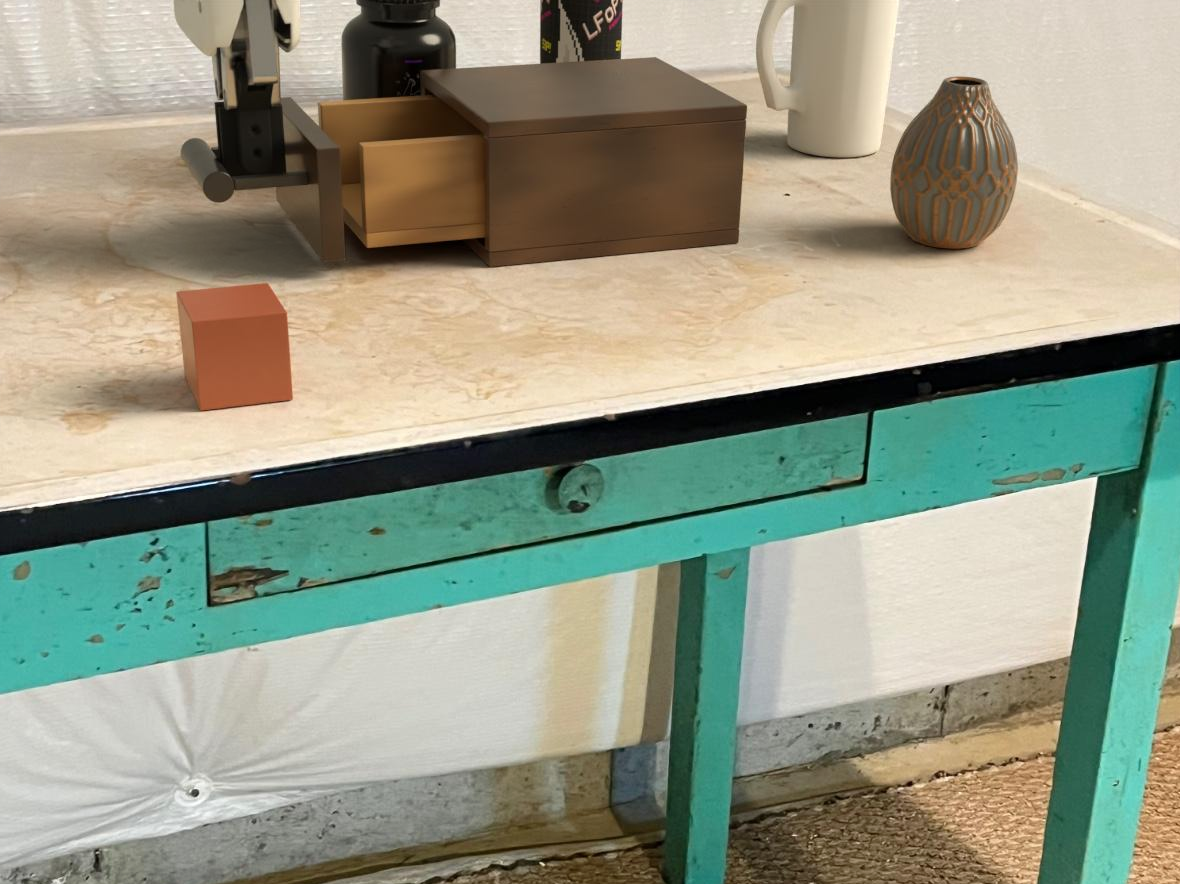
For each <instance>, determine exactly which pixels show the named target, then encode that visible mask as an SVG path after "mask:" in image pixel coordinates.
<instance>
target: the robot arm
mask: <svg viewBox="0 0 1180 884" xmlns="http://www.w3.org/2000/svg"><path fill="white" fill-rule="evenodd" d="M301 11H302V10H301V0H173V13H174V18H175V21H176V22H175V23H176V24H177V26H178V27H179V29H180V30H181V31H182V32H183V33H184V35H185V36H186V37H187V38H188V40H189V41H190V42H191V44H193V45H194V47H196V48H197V49H198V51H200V52H201V53H203V54H204V55H206V56H207V57H211V62H212V63H211V64H212V72H213V82H214V90H215V96H216V99H217V101H214V102H213V103H214V115H215V127H216V128H215V129H216V138H217V147H218V152H219V161H220V162H221V163H222V165H223V166H224V168H225V169H226V170H227V172H228V173H229V175H230V176H231V177H233V176H245V175H259V174H272V173H285V172H286V157H285V141H284V125H283V110H282V105H281V98H282V94H281V92H282V91H281V67H280V65H281V64H280V49H281V50H282V51H283V52H284V53H286V54H287V53H291V52H292V51H294V49H296V47H297V46H298V45H299V43H300V42H301V35H302V34H301V32H302V29H301V28H302V26H301V25H302V13H301Z"/></svg>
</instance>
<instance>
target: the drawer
mask: <svg viewBox="0 0 1180 884" xmlns="http://www.w3.org/2000/svg"><path fill="white" fill-rule="evenodd" d="M281 105H282V110H283V125H284V141H285V157H286V172H285V173H272V174H259V175H245V176H233V177H231V176H230V175H229V173H228V172H227V170H226V169H225V168H224V166H223V165H222V163H221V162H220V161H219V152H218V146H212V147H211V146H210V145H209V144H208V142H206V141H205V140H203V139H202V138H198V137H191V138H189V139H187V140H185V142H183V144H182V146H181V148H180V157H181V160H182V162H183V163H184V165H185V166H186V168H187V170H188V171H189V173H190V174H191V175H192V177H193V179H194V181H195V182H196V184H197V185H198V187H199V188H200V189H201V191H202V193H203V194H204V196H205V197H206V198H207V199H208V200H209V201H210V202H213V203H219V204H220V203H225V202H227V201H228V200H229V199H231V198H232V196H233V195H234V193H235V191H249V190H260V189H261V190H262V189H273V188H275V192H276V193H275V194H276V195H275V196H276V202H277V203H278V205H279V206H280V207H281V208H282V210H283V211H284V213H285V214H286V216H287V217H288V218H289V219H290V221H291V222H292V223H293V224H294V226H295V227H296V228H297V229H298V231H299V232H300V234H301V235H302V236H303V237H304V239H305V240H306V241H307V243H308V244H309V245H310V246H311V248H312V249H313V250H314V252H315V253H316V254H317V256H318V257H319V258H320V260H321V261H322V262H323V263H326V262H327V263H328V262H338V261H339V262H340V261H345V260H346V241H345V239H346V238H345V224H346V226H348V227H349V228H350V230H351V231H352V232H353V233H354V235H355V236H356V237H357V238H358V239H359V241H360V242H361V243H362V244H363V245H364V246H365V248H367V249H371V248H373V249H374V248H383V247H384V248H385V247H393V246H394V247H395V246H403V245H404V246H405V245H416V244H427V243H437V242H438V243H439V242H447V241H450V242H451V241H460V240H461V241H462V239H472V238H483V237H485V175H484V135H485V134H484V133H482V132H481V131H480V130H479V129H477V128H476V127H475V126H473V125H472V124H471V123H470V122H468V121H467V120H466V119H465V118H463V117H462V116H461V115H459V114H458V113H457V112H456V111H454V110H453V109H452V108H450V107H449V106H448V105H447V104H445V103H444V102H443V101H442V100H440V99H439V98H438V97H436V96H435V95H423V96H407V97H390V98H374V99H358V100H343V99H342V100H328V101H325V100H324V101H318V102H317V115H318V116H317V117H318V124H317V123H316V121H315V120H313V118H312V117H311V116H310V115H309V114H308V113H307V112H306V111H305V110H304V109H303V108H302V107H301V106H300V105H299V104H298V103H297V102H296V101H295V100H294V99H293V98H292V96H284V97H283V96H281Z"/></svg>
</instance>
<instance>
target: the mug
mask: <svg viewBox="0 0 1180 884" xmlns="http://www.w3.org/2000/svg"><path fill="white" fill-rule="evenodd" d="M899 5H900V0H767V1H766V5H765V7H764V9H763V12H762V14H761V18H760V21H759V24H758V29H757V33H756V41H755V59H756V67H757V72H758V77H759V81H760V85H761V88H762V93H763V98H764V101H765V105H766V107H767V108H769V109H772V110H774V111H776V112H779V111H785V110H787V135H786V141H787V145H788V146H789V147H790V148H791V149H793V150H795V151H797V152H800V153H803V154H807V155H811V156H818V157H825V158H857V157H858V158H859V157H866V156H869V155H872V154H875V153H876V152H878V151H879V150H880V149H881V145H882V144H881V143H882V137H883V132H884V131H883V130H884V123H885V116H886V109H887V101H888V100H887V99H888V93H889V84H890V77H891V71H892V70H891V68H892V61H893V53H894V46H895V39H896V38H895V37H896V29H897V24H898V23H897V22H898V21H897V20H898V14H899ZM791 7H793V21H792V40H791V57H790V77H789V85H785V86H784V84H782V82H781V81H780V79H779V77H778V75H777V71H776V67H775V62H774V53H773V47H774V46H773V44H774V36H775V33H776V29H777V26H778V23H779V22H780V20H781V18H782V16H783V15H784V14H785V12H786V11H788V9H790V8H791Z"/></svg>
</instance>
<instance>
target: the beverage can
mask: <svg viewBox="0 0 1180 884" xmlns="http://www.w3.org/2000/svg"><path fill="white" fill-rule="evenodd" d="M539 2H540V3H539V6H540V8H539V9H540V10H539V24H540V25H539V64H543V63H561V62H578V61H596V60H614V59H622V39H623V38H622V37H623V36H622V35H623V33H622V32H623V6H624V5H623V3H624V0H539Z"/></svg>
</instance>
